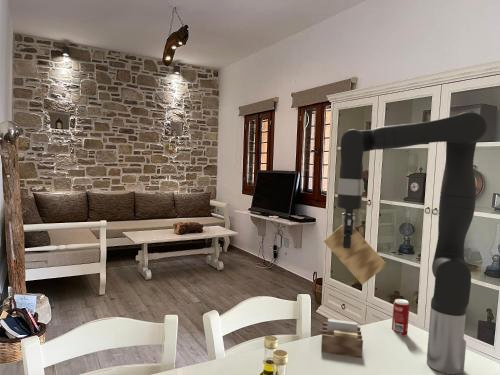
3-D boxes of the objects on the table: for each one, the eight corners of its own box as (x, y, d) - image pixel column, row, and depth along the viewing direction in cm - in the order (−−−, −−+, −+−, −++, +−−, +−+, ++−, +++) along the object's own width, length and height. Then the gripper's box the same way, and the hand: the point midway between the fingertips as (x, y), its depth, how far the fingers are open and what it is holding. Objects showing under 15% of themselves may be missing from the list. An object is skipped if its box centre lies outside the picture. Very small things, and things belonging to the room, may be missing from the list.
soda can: (396, 329, 137) (398, 297, 136) (410, 334, 133) (412, 301, 132) (388, 333, 133) (391, 300, 133) (402, 338, 129) (405, 304, 129)
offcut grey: (355, 347, 118) (357, 322, 118) (355, 349, 116) (357, 324, 116) (326, 343, 120) (327, 318, 119) (326, 345, 118) (327, 321, 118)
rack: (359, 346, 122) (360, 327, 121) (361, 362, 111) (363, 341, 111) (321, 341, 124) (322, 322, 124) (321, 356, 114) (322, 336, 114)
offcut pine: (356, 351, 115) (357, 332, 115) (356, 354, 113) (357, 335, 113) (332, 348, 117) (334, 329, 116) (332, 351, 115) (334, 332, 114)
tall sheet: (386, 263, 118) (347, 220, 120) (387, 265, 116) (347, 221, 118) (361, 282, 120) (323, 240, 122) (362, 284, 118) (323, 241, 120)
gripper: (364, 195, 111) (360, 252, 112) (360, 192, 124) (357, 244, 125) (338, 193, 113) (334, 250, 113) (337, 191, 126) (334, 242, 127)
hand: (346, 247), depth 119 cm, fingers closed on tall sheet, 2 cm apart
